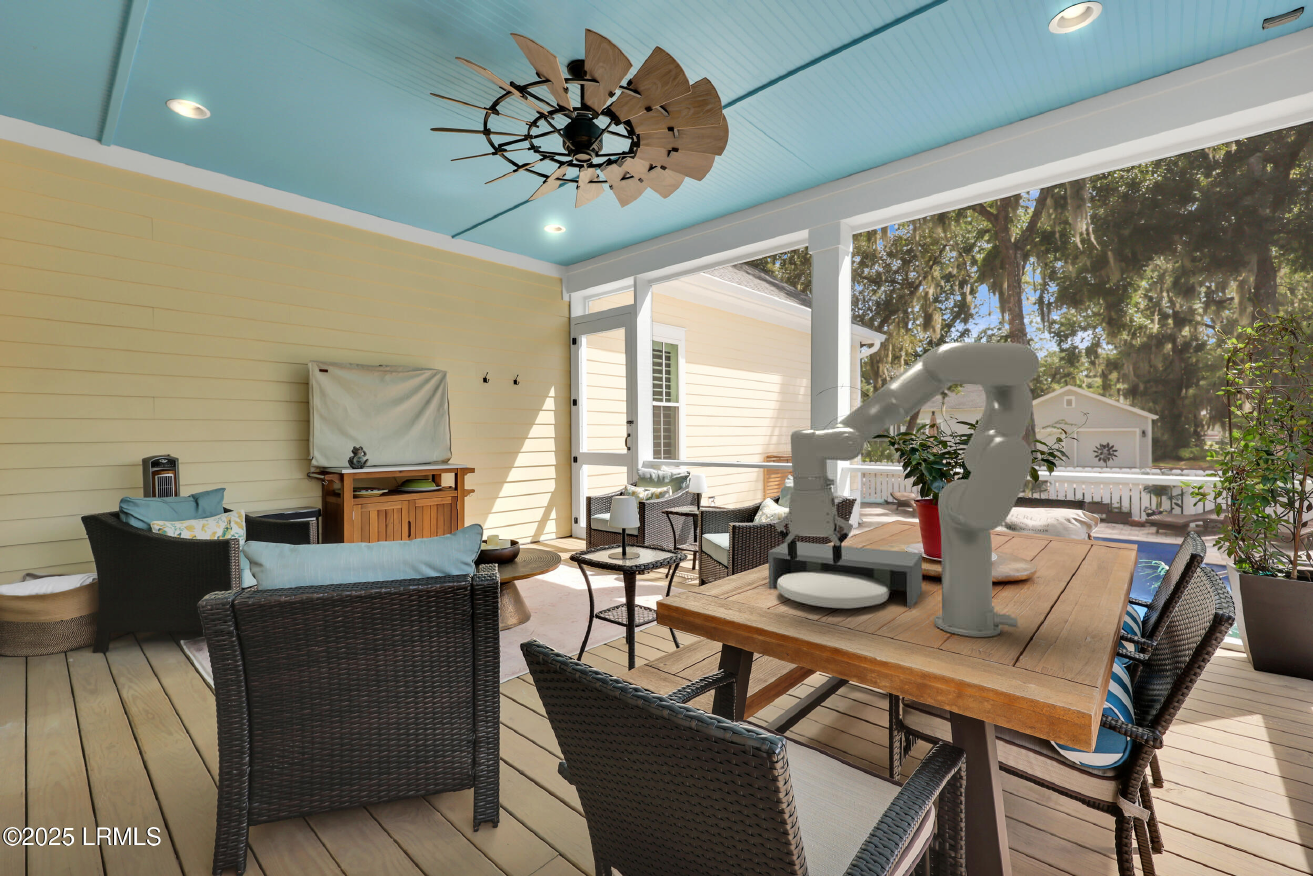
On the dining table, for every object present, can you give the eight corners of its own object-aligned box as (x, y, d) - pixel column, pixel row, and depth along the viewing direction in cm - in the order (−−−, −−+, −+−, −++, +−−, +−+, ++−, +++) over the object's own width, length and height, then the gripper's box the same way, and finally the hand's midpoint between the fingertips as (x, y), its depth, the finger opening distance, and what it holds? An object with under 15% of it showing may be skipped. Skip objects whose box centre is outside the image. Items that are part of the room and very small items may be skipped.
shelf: (922, 591, 153) (921, 553, 153) (912, 607, 139) (912, 566, 139) (788, 575, 172) (788, 541, 172) (768, 588, 158) (768, 551, 158)
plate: (806, 563, 167) (903, 577, 150) (805, 586, 166) (902, 603, 150) (757, 572, 145) (865, 590, 128) (756, 599, 145) (864, 620, 128)
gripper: (854, 482, 129) (858, 560, 129) (779, 483, 138) (783, 555, 138) (845, 486, 123) (850, 567, 123) (767, 486, 132) (771, 562, 132)
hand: (814, 561), depth 130 cm, fingers open, 9 cm apart
